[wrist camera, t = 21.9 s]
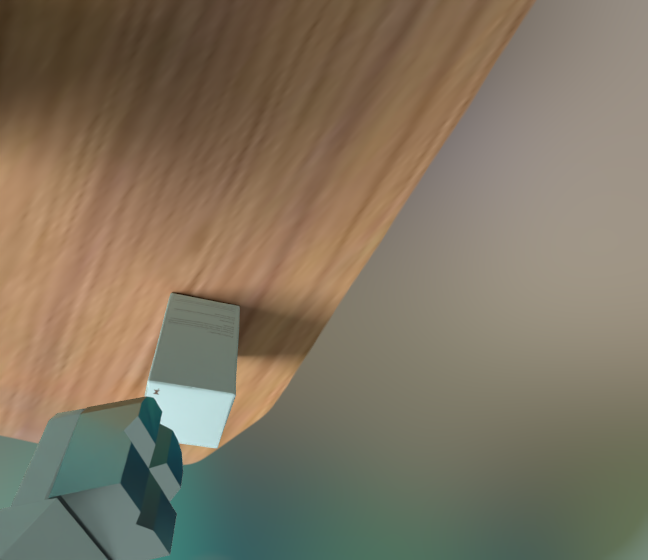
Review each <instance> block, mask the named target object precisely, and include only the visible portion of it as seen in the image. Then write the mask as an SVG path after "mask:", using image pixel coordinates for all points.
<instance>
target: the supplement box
mask: <svg viewBox="0 0 648 560" xmlns="http://www.w3.org/2000/svg"><path fill="white" fill-rule="evenodd" d="M239 317H240V307H239V306H236V305H231V304H226V303H221V302H215V301H210V300H205V299H200V298H195V297H190V296H185V295H180V294H175V293H171V294H170V297H169V301H168V304H167V308H166V312H165V316H164V320H163V324H162V328H161V332H160V336H159V339H158V343H157V347H156V351H155V355H154V359H153V363H152V366H151V370H150V374H149V378H148V382H147V387H146V392H145V397H146V396H147V397H153V398H154V399H155V400H156V402H157V404H158V405H159V407H160V409H161V410H162V416H161V421H160V424H162V425H164V426H166V427H168V428H170V429H171V430H173V432H174V434H175V436H176V438H177V439H178V442H179V443H181V444H189V445H196V446H203V447H210V448H218V444H219V441H220V438H221V436H222V433H223V430H224V427H225V424H226V421H227V419H228V416H229V413H230V410H231V407H232V405H233V402H234V399H235V396H236V371H237V354H238V339H239Z"/></svg>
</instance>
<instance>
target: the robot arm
mask: <svg viewBox="0 0 648 560" xmlns="http://www.w3.org/2000/svg"><path fill="white" fill-rule="evenodd" d="M161 416H162V410H161V409H160V407H159V405H158V404H157V402H156V400H155V399H154V398H153V397H147V396H146V397H141V398H135V399H130V400H124V401H119V402H113V403H108V404H102V405H97V406H91V407H87V408H85V409H79V410H74V411H68V412H62V413H57V414H56V415H55V416H54V417H52V418H51V419H50V420H49V421H48V423H47V426H46V428H45V430H44V432H43V435H42V437H41V439H40V441H39V444H38V446H37V448H36V451H35V453H34V455H33V458H32V460H31V462H30V464H29V466H28V469H27V471H26V473H25V475H24V478H23V480H22V482H21V484H20V487H19V489H18V491H17V493H16V496H15V498H14V500H13V502H12V505H11V507H8V508H4V509H0V560H150V559H154V558H159V557H163V556H168V555H170V552H171V546H172V540H173V534H174V528H175V522H176V516H177V513H176V512H175V510H174V509H173V507H172V505H171V504H170V501H171V500H172V498H173V497H174V496H175V495H176V493H177V492H178V491H179V490H180V488H181V483H182V476H183V463H182V452H181V449H180V445H179V442H178V439H177V438H176V436H175V434H174V432H173V430H171V429H170V428H168V427H166V426H164V425H162V424H160V421H161Z"/></svg>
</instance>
